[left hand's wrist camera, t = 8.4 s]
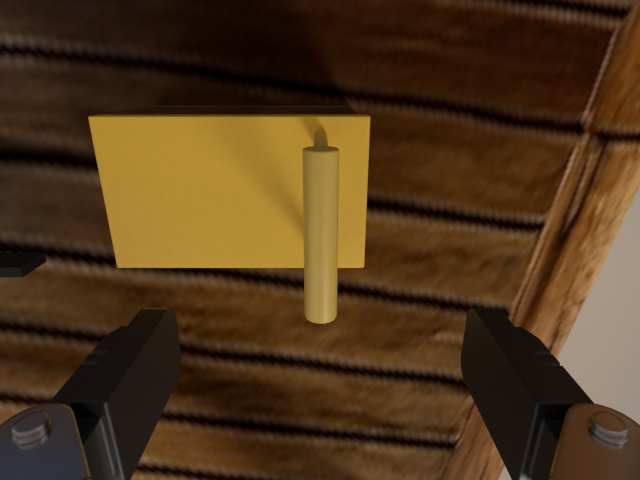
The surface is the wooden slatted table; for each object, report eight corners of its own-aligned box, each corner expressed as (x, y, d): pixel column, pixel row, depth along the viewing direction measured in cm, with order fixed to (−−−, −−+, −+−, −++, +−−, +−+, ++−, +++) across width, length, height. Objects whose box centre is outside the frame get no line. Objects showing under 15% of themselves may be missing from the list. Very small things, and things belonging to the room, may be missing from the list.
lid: (368, 114, 24) (393, 131, 16) (362, 259, 28) (380, 337, 19) (98, 114, 24) (-18, 132, 16) (125, 260, 28) (41, 337, 19)
